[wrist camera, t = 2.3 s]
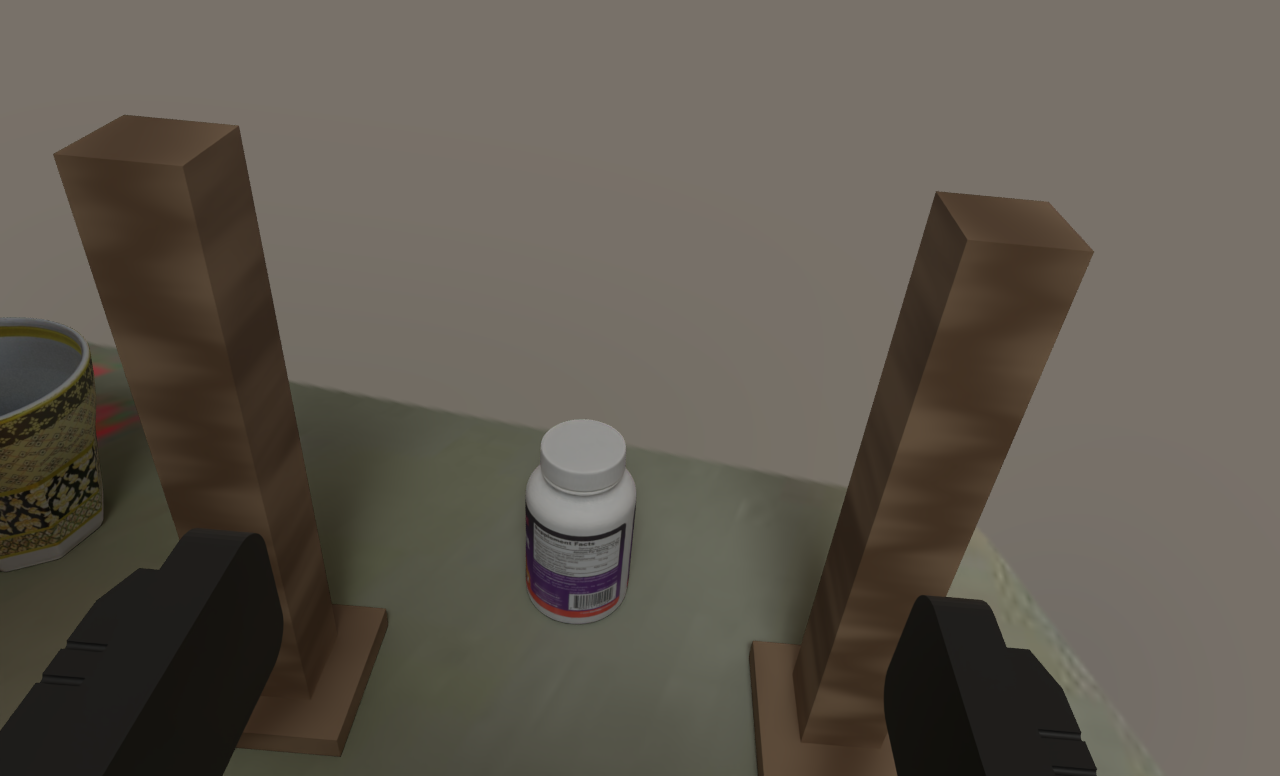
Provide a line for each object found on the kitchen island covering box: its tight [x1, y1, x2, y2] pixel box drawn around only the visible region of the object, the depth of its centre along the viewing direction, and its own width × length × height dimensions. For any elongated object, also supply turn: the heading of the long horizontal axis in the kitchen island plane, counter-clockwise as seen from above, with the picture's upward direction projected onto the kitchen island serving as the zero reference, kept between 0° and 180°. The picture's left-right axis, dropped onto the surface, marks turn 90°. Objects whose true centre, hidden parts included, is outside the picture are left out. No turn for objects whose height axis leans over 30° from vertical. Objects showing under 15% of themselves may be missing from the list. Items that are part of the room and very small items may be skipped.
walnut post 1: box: [53, 115, 388, 757], centre depth 31 cm, size 7×7×25 cm
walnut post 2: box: [749, 191, 1094, 776], centre depth 32 cm, size 7×7×25 cm
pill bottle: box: [525, 419, 636, 624], centre depth 42 cm, size 5×5×10 cm
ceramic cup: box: [0, 317, 103, 572], centre depth 43 cm, size 13×10×10 cm
